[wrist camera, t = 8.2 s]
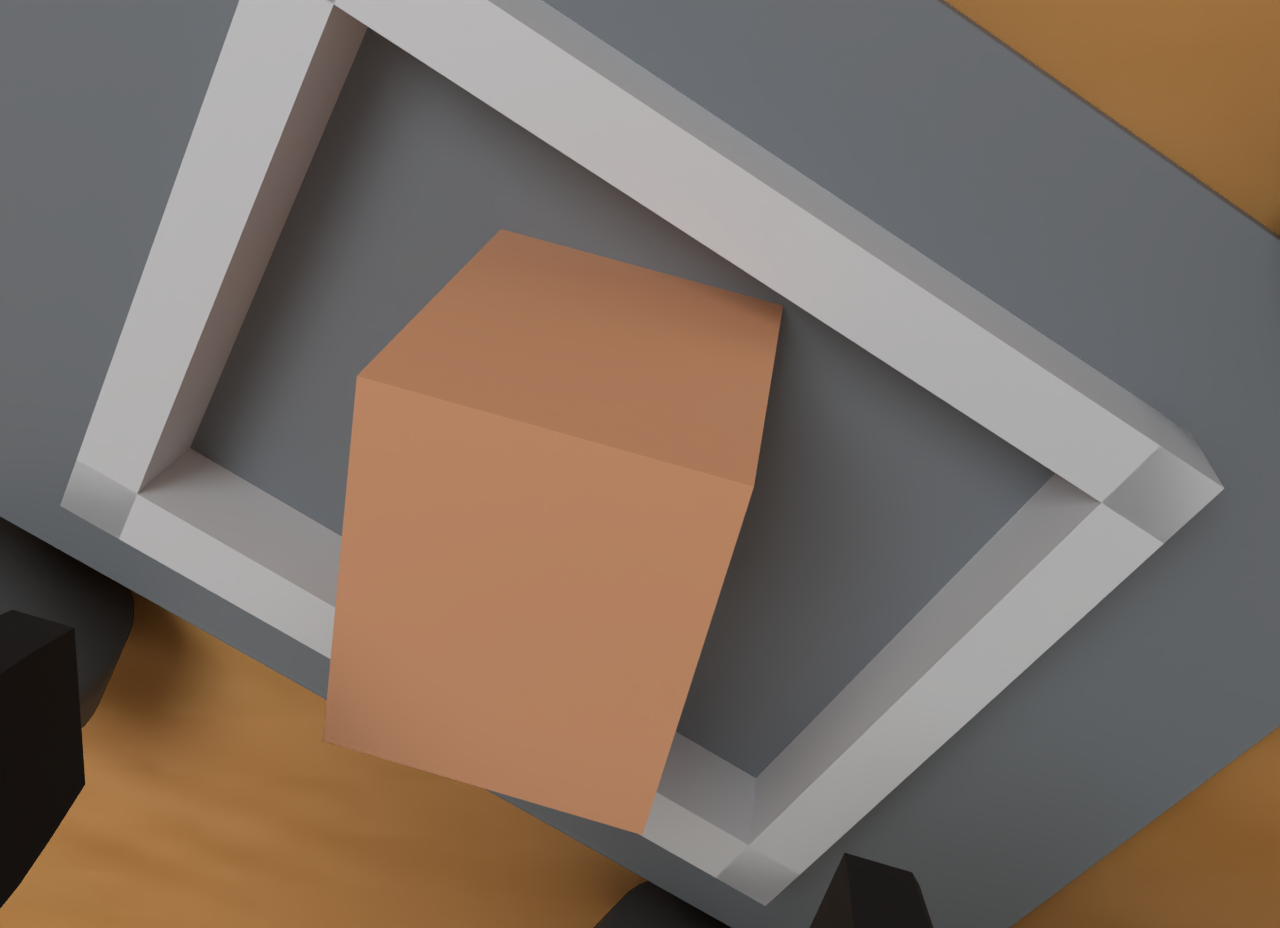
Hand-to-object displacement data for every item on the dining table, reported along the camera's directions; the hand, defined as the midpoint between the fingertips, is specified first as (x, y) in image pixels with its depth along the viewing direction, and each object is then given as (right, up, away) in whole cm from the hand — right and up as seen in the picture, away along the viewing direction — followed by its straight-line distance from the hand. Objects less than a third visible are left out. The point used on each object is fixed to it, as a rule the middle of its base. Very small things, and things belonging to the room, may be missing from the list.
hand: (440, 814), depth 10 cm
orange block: (+1, +4, +6) cm, 7 cm away
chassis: (+1, +4, +7) cm, 8 cm away
